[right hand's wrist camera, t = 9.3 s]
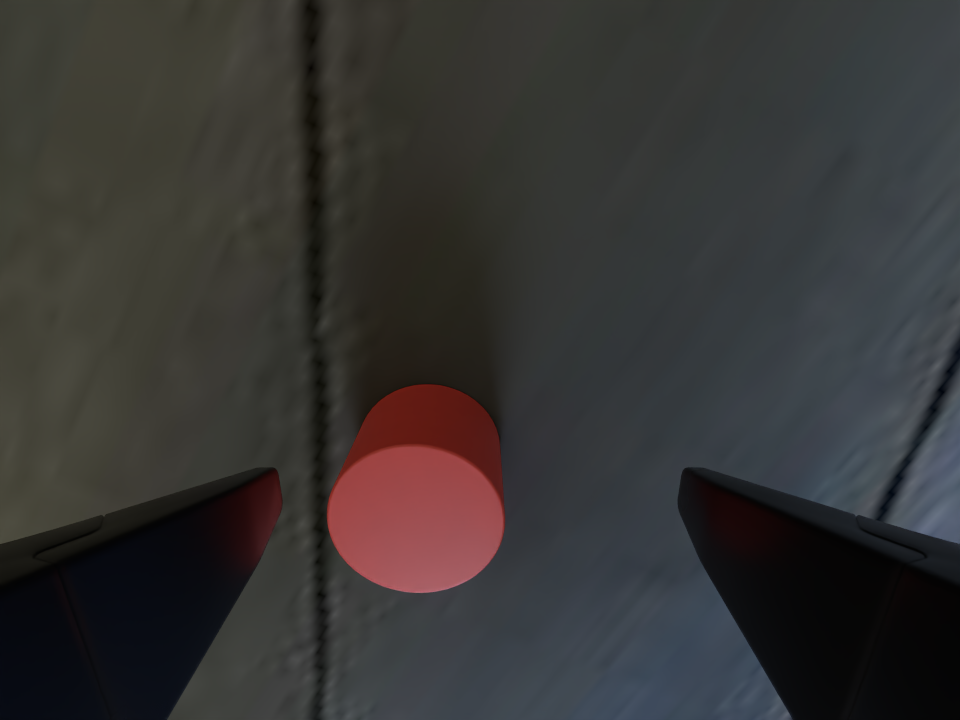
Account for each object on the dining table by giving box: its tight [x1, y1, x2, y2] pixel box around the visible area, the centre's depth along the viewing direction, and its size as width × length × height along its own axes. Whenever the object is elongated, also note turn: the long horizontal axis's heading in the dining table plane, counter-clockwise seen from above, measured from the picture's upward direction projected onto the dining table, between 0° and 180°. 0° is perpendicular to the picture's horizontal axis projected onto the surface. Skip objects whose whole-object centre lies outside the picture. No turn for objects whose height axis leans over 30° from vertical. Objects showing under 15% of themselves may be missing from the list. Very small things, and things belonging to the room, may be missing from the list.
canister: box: [327, 384, 505, 593], centre depth 17 cm, size 5×5×4 cm
